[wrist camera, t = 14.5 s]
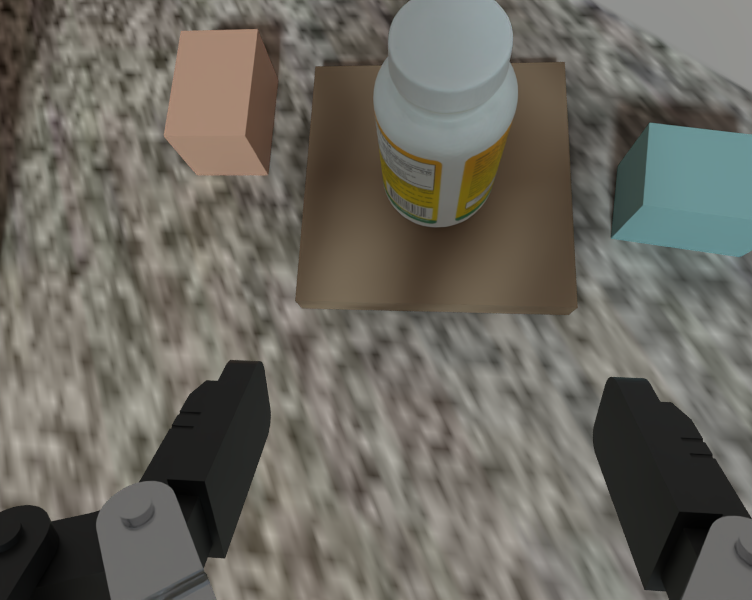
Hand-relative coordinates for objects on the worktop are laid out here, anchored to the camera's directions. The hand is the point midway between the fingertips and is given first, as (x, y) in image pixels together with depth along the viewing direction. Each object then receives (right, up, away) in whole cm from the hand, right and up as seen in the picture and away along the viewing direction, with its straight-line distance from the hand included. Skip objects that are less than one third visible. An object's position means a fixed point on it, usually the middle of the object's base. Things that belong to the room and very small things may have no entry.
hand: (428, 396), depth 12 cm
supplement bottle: (+2, +8, +14) cm, 16 cm away
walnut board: (+2, +8, +15) cm, 17 cm away
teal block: (+14, +7, +14) cm, 21 cm away
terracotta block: (-9, +12, +17) cm, 23 cm away
